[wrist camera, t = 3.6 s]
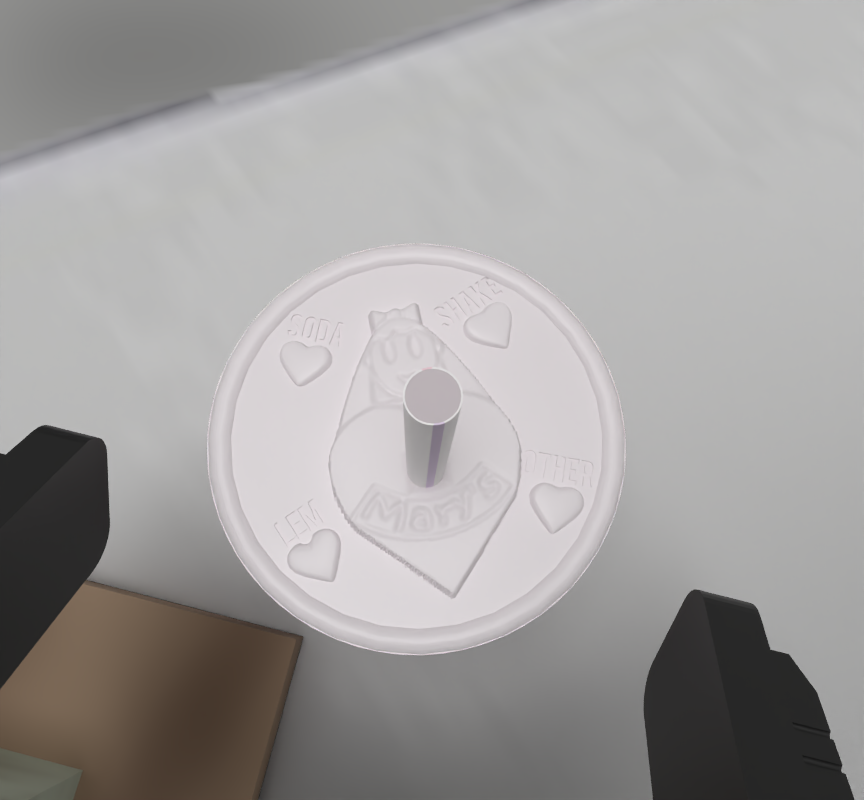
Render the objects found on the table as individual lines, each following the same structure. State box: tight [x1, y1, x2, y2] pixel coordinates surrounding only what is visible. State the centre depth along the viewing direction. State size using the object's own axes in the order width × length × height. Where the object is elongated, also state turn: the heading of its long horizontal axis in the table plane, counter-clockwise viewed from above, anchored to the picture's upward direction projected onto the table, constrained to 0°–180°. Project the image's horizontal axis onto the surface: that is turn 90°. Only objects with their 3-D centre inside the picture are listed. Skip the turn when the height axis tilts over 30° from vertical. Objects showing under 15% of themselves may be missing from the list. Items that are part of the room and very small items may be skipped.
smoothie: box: [207, 243, 626, 655], centre depth 14 cm, size 6×6×14 cm
